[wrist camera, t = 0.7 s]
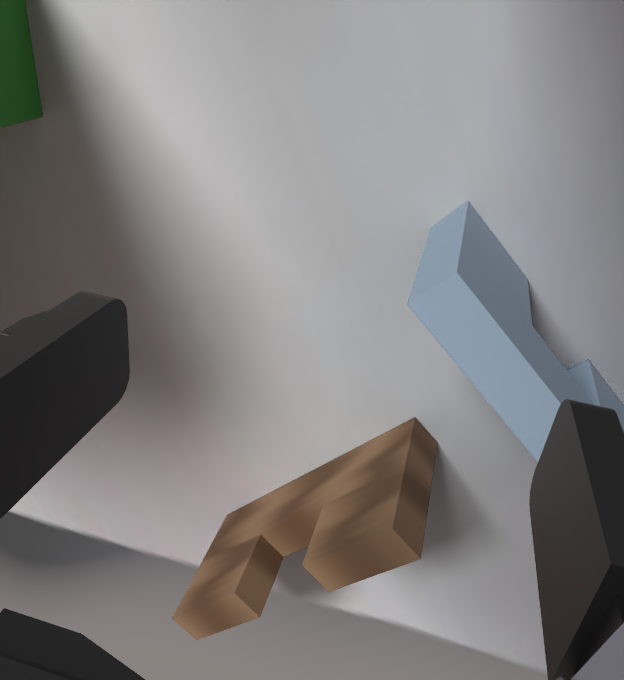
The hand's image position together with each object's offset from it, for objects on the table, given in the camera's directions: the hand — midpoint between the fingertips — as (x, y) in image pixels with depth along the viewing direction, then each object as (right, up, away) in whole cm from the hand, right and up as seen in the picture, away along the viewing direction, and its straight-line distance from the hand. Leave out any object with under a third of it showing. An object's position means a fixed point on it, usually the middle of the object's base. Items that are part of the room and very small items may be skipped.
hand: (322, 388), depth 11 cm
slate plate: (+10, +1, +17) cm, 20 cm away
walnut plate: (0, -8, +25) cm, 26 cm away
